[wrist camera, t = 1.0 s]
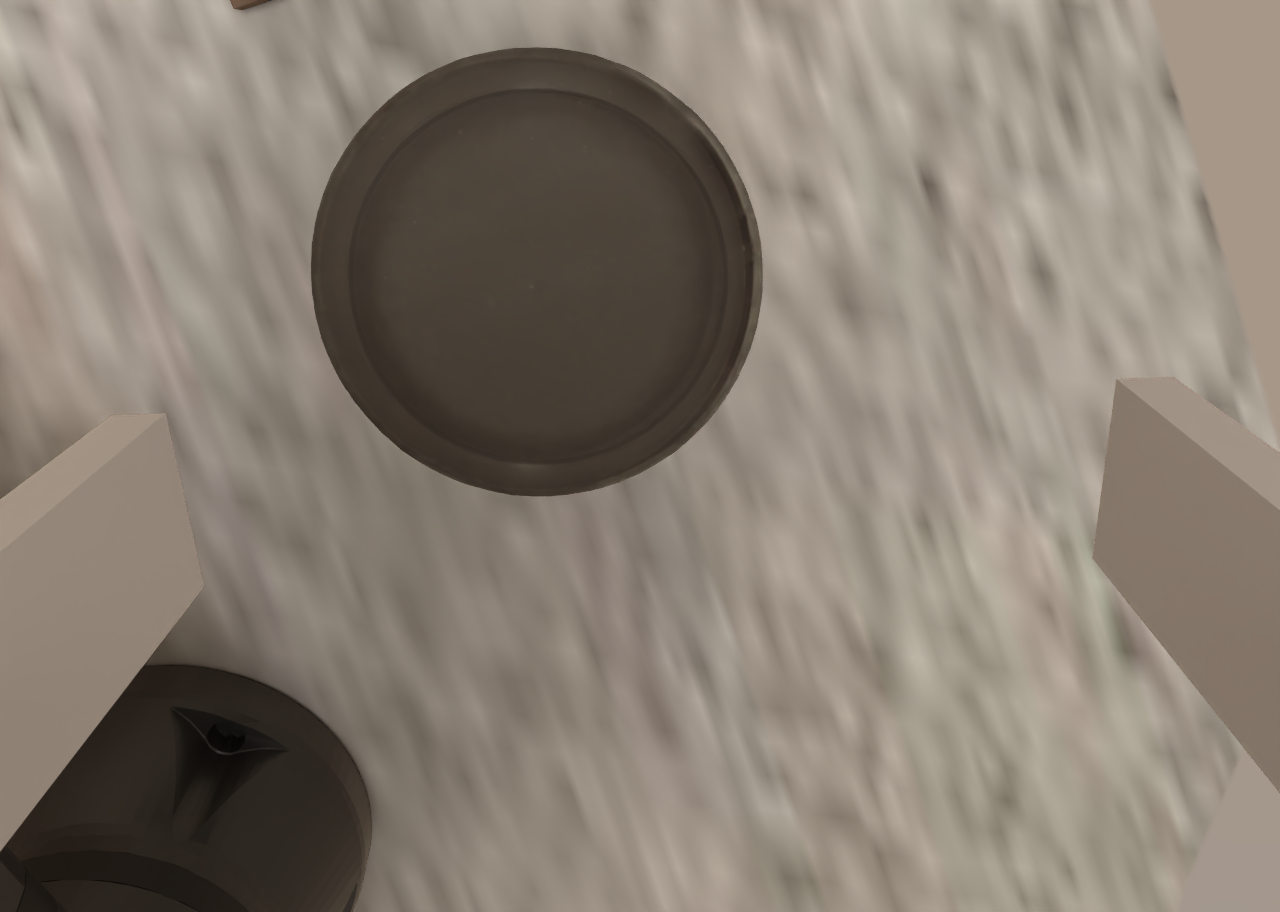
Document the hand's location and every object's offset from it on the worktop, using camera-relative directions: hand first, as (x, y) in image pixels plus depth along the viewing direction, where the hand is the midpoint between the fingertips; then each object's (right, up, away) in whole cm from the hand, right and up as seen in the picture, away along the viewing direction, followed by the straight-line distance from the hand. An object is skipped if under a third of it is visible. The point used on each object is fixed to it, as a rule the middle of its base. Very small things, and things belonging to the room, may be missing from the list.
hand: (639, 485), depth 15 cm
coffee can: (-4, +9, +23) cm, 25 cm away
